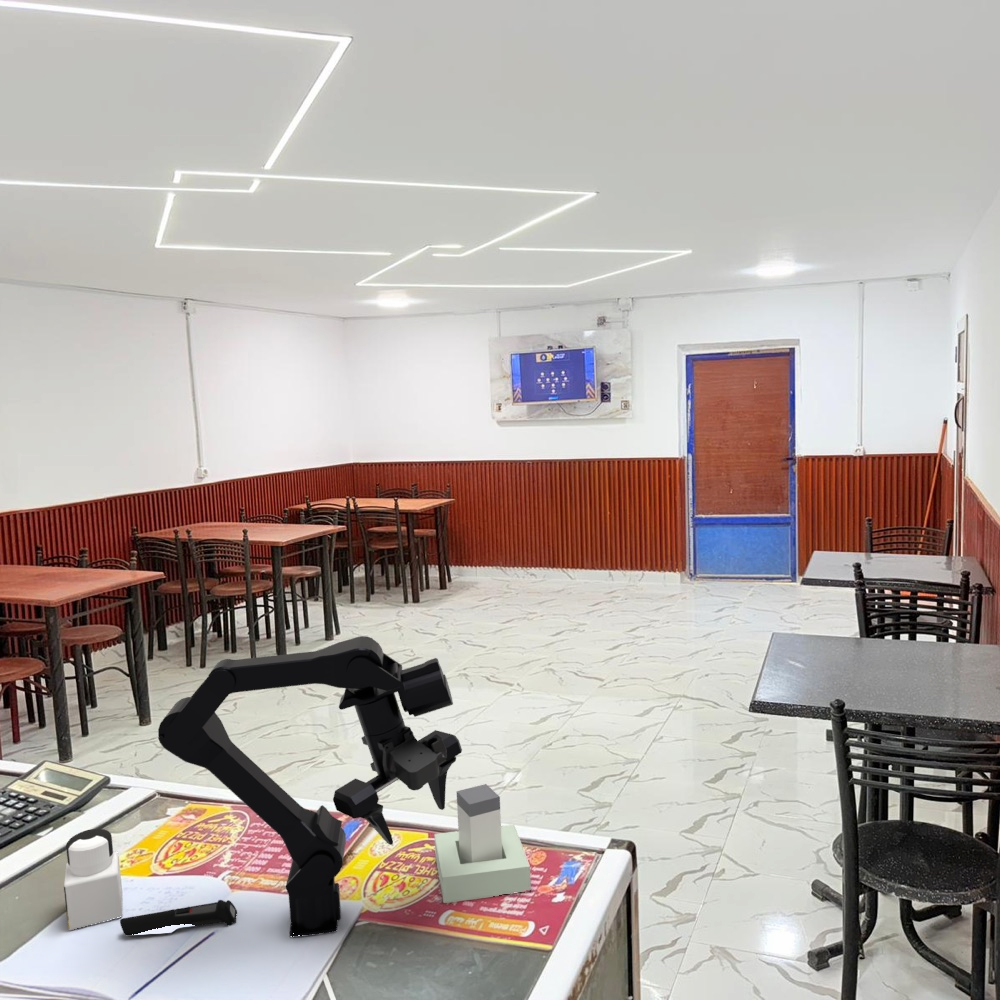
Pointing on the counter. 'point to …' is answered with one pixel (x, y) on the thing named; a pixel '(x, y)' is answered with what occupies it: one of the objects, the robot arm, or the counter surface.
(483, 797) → the white plug block
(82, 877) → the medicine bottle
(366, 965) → the counter surface
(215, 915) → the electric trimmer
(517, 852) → the sage block
